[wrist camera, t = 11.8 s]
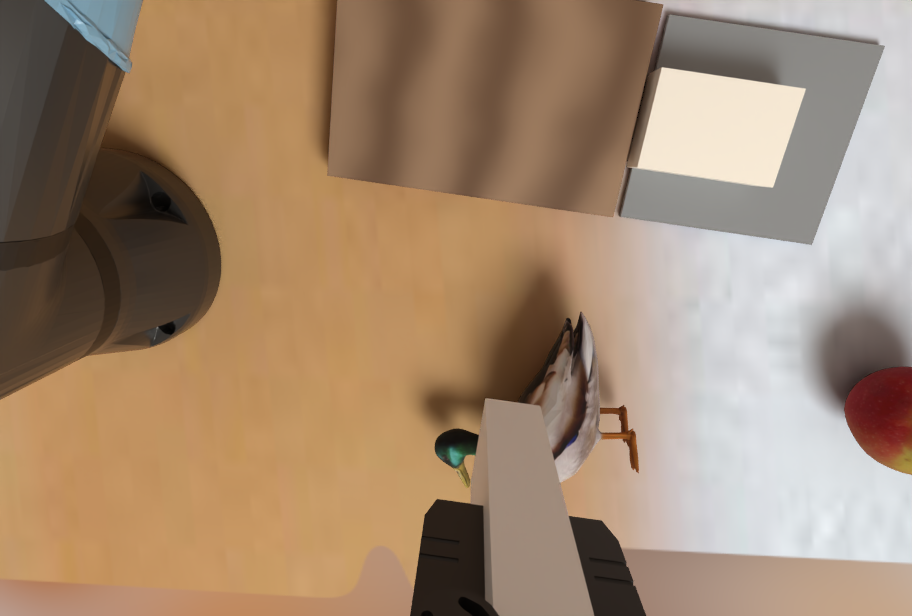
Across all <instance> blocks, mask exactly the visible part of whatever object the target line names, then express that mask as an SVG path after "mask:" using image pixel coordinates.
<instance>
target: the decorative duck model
mask: <svg viewBox="0 0 912 616" xmlns="http://www.w3.org/2000/svg"><path fill="white" fill-rule="evenodd" d="M517 403H524V404H531V405H538V406H540V407H541V411H542V415H543V419H544V423H545V427H546V430H547V434H548V438H549V442H550V446H551V450H552V454H553V458H554V461H555V465H556V469H557V473H558V477H559V481H560V482H562V481H564V480H567V479H568V478H570V477H571V476H573V475H574V474H575V473H577V471H578V470H579V469H580V467H581V466H582V464H583V463H584V461H585V460H586V459H587V457H588V456H589V454H590V453H591V451H592V450H593V448H594V447H595V445H596V444H597V442H598V441H599V440H601V439H623V441H624V443H625V442H627V445H628V446H629V449H630V463H631V468H632V469H633V470H634V469H636V472H638V471H639V466H638V453H637V444H636V434H635V432H634V431H632V430H633V429H631V430H630V431H628V420H627V410H626V407H624V405H623V406H621V407H619V408H600V399H599V376H598V361H597V354H596V347H595V341H594V337H593V333H592V331H591V328H590V326H589V324H588V322H587V320H586V318H585V316H584V315H583V313H582V312H580V316H579V320H578V323H577V326H576V328H575V330H574V332H573V328H572V325H571V320H570V318H567V319H566V321H565V324H564V327H563V329H562V331H561V334H560V336H559V337H558V339H557V341H556V343H555V344H554V346H553V348H552V350H551V351H550V353H549V355H548V357H547V359H546V361H545V364H544V366H543V368H542V369H541V370H540V372H539V373H538V374H537V375H536V377H535V378H534V379H533V380H532V381H531V382H530V384H529V385H528V386H527V387H526V389H525V390H524V392H523V393H522V395H521V396H520V398H519V400H518V402H517ZM600 414H618V415H619V420H620V421H621V433H601V432H600V431H599V429H598V427H599V421H600ZM478 438H479V435H477V434H474V433H471V432H469V431H466V430H463V429H452V430H449V431H446V432H444V433H442V434H441V435H440V436H439V437H438V438H437V440H436V442H435V452H436V455H437V456H438V457H439V458H440V459H441V460H442V461H443V462H445V463H446V464H448V465H449V466H451V467H452V468H453V469H454V470H455V471H456V472H457V473H458V475H459V477H460V478H461V480H462V482H463V483H464V485H465V487H466V488H468V487H469V486H470V478H469V475H468V473H467V471H466V468H465V465H464V458H465V456H466V455H475V456H476V450H477V444H478ZM638 473H639V472H638Z"/></svg>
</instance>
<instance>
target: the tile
mask: <svg viewBox="0 0 912 616" xmlns="http://www.w3.org/2000/svg"><path fill="white" fill-rule="evenodd" d="M805 90H806V89H805V88H798V87H791V86H784V85H778V84H771V83H764V82H758V81H751V80H744V79H738V78H731V77H724V76H717V75H711V74H704V73H697V72H691V71H684V70H677V69H671V68H664V67H661V68H659V69H657V70H655V71H654V72H652V73H650V74H649V75H648V79H647V83H646V87H645V91H644V96H643V100H642V104H641V108H640V112H639V116H638V121H637V125H636V129H635V133H634V137H633V141H632V146H631V150H630V154H629V158H628V162H627V166H626V167H630V168H637V169H643V170H650V171H657V172H664V173H670V174H677V175H684V176H690V177H697V178H704V179H711V180H717V181H724V182H731V183H737V184H744V185H751V186H760V187H771V188H773V186H774V183H775V180H776V177H777V174H778V171H779V168H780V165H781V162H782V159H783V156H784V153H785V150H786V147H787V144H788V141H789V138H790V135H791V132H792V129H793V126H794V123H795V120H796V117H797V114H798V111H799V108H800V105H801V102H802V99H803V96H804V93H805Z"/></svg>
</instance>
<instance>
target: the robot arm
mask: <svg viewBox="0 0 912 616" xmlns="http://www.w3.org/2000/svg"><path fill="white" fill-rule="evenodd" d="M142 2H143V0H0V400H1V399H3V398H5V397H7V396H9V395H10V394H12V393H14V392H16V391H18V390H20V389H22V388H24V387H26V386H28V385H30V384H32V383H34V382H36V381H38V380H40V379H42V378H44V377H46V376H48V375H50V374H52V373H54V372H56V371H58V370H60V369H62V368H64V367H66V366H68V365H70V364H71V363H73V362H75V361H77V360H79V359H81V358H83V357H85V356H89V355H98V354H106V353H115V352H124V351H133V350H141V349H146V348H150V347H154V346H157V345H160V344H162V343H165V342H167V341H169V340H171V339H172V338H174V337H176V336H178V335H179V334H181V333H183V332H185V331H186V330H188V329H189V328H191V327H192V326H194V325H195V324H196V323H197V322H198V321H199V320H200V319H201V318H202V317H203V316H204V315H205V314H206V312H207V311H208V309H209V308H210V306H211V304H212V303H213V300H214V298H215V296H216V293H217V290H218V287H219V282H220V275H221V255H220V248H219V243H218V240H217V236H216V233H215V230H214V227H213V225H212V223H211V220H210V218H209V216H208V214H207V213H206V211H205V209H204V208H203V206H202V205H201V203H200V202H199V200H198V199H197V198H196V196H195V195H194V194H193V193H192V191H191V190H190V189H189V188H188V187H187V186H186V185H185V184H184V183H183V182H182V181H181V180H180V179H179V178H178V177H176V176H175V175H174V174H173V173H171V172H170V171H169V170H167V169H166V168H164V167H163V166H161V165H159V164H158V163H156V162H154V161H152V160H150V159H148V158H146V157H143V156H141V155H138V154H135V153H132V152H128V151H123V150H118V149H104V148H100V146H101V143H102V140H103V137H104V134H105V131H106V128H107V125H108V122H109V119H110V116H111V113H112V110H113V107H114V104H115V101H116V98H117V96H118V93H119V90H120V87H121V84H122V81H123V78H124V75H125V72H127V73H130V71H131V68H132V62H131V60H130V58H129V55H130V51H131V46H132V42H133V38H134V33H135V29H136V25H137V21H138V17H139V13H140V10H141V6H142ZM410 616H646V614H645V612H644V609H643V606H642V603H641V601H640V598H639V595H638V593H637V590H636V587H635V586H633V579H632V576H631V574H630V571H629V568H628V567H626V561H625V558H624V555H623V552H622V549H621V547H620V544H619V541H618V540H617V539H616V537H615V536H614V535H613V534H612V533H611V531H610V530H609V529H608V528H607V527H606V525H605V524H604V523H603V522H602V521H600V520H593V519H586V518H579V517H572V516H568V512H567V508H566V504H565V500H564V496H563V492H562V489H561V485H560V481H559V477H558V473H557V469H556V465H555V461H554V458H553V454H552V450H551V446H550V442H549V438H548V434H547V430H546V427H545V423H544V419H543V415H542V411H541V407H540V406H538V405H531V404H524V403H517V402H510V401H503V400H496V399H489V398H485V403H484V409H483V415H482V421H481V427H480V432H479V438H478V444H477V450H476V456H475V462H474V467H473V473H472V479H471V504H468V503H461V502H454V501H447V500H440V499H437V500H436V501H435V502H434V504H433V505H432V506H431V508H430V509H429V510H428V512H427V513H426V514H425V518H424V525H423V531H422V538H421V545H420V552H419V559H418V566H417V573H416V580H415V586H414V593H413V600H412V607H411V614H410Z"/></svg>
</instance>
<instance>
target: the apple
mask: <svg viewBox="0 0 912 616" xmlns="http://www.w3.org/2000/svg"><path fill="white" fill-rule="evenodd" d="M844 412H845V417H846V421H847V424H848V426H849V428H850V430H851V432H852V434H853V436H854V438H855V439H856V441H857V442H858V444H859V445H860V446H861V448H862V449H863V450H864V451H865V452H866V453H867V454H868V455H869V456H871V457H872V458H873V459H875V460H876V461H877V462H879V463H881V464H883V465H885V466H887V467H889V468H891V469H894V470H897V471H899V472H902V473H906V474H911V475H912V367H893V368H887V369H883V370H879V371H877V372H874V373H872V374H870V375H868V376H866V377H865V378H863V379H862V380H860V381H859V382H858V383H857V384H856V385H855V386H854V387H853V389H852V390H851V391H850V393H849V395H848V397H847V399H846V402H845V408H844Z"/></svg>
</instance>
